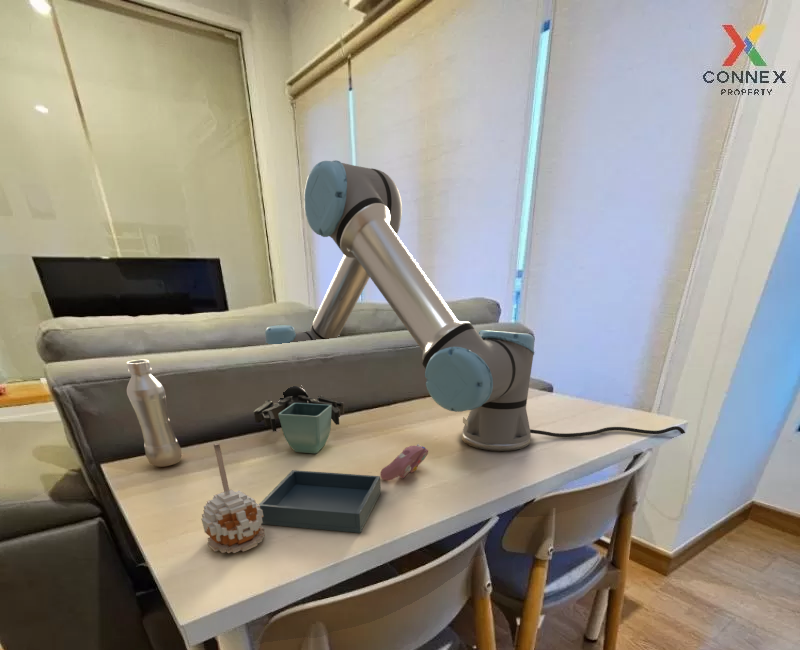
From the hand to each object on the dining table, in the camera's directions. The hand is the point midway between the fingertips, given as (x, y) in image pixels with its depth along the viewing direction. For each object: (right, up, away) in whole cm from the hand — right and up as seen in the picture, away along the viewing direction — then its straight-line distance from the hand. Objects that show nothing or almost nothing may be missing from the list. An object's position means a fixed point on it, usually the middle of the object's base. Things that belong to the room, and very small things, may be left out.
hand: (306, 421), depth 99 cm
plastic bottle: (-27, -10, -5) cm, 30 cm away
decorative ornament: (-4, -25, -31) cm, 40 cm away
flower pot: (0, -6, +2) cm, 6 cm away
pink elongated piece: (+21, -13, -10) cm, 27 cm away
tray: (+8, -20, -22) cm, 30 cm away
